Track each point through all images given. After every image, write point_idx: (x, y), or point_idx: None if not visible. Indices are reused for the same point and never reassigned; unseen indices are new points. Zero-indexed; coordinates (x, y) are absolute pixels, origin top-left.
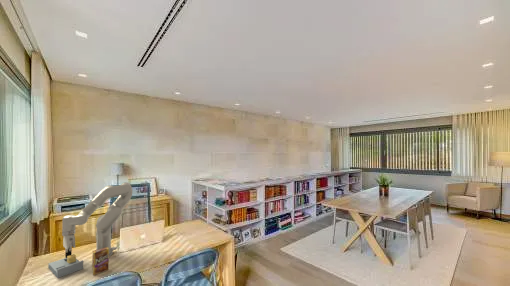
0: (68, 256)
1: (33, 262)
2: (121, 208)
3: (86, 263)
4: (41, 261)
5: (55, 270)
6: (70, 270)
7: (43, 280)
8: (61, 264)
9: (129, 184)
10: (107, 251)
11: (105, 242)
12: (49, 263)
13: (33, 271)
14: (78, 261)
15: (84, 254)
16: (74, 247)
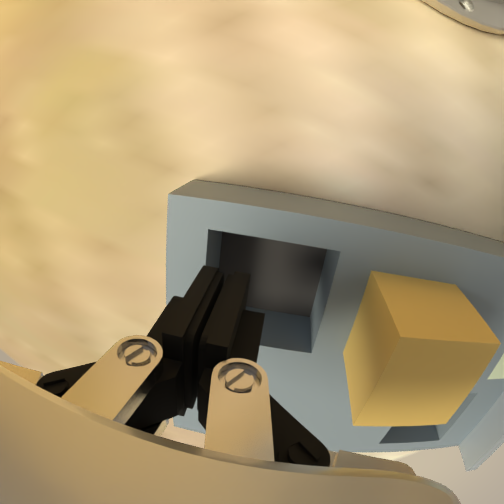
0: (387, 418)
1: (18, 359)
2: None
3: (500, 161)
4: (24, 338)
5: (410, 448)
6: None
7: (387, 457)
8: (347, 403)
9: None
10: None
11: None
12: (182, 424)
13: (166, 436)
14: (495, 268)
15: (160, 9)
16: (437, 485)
